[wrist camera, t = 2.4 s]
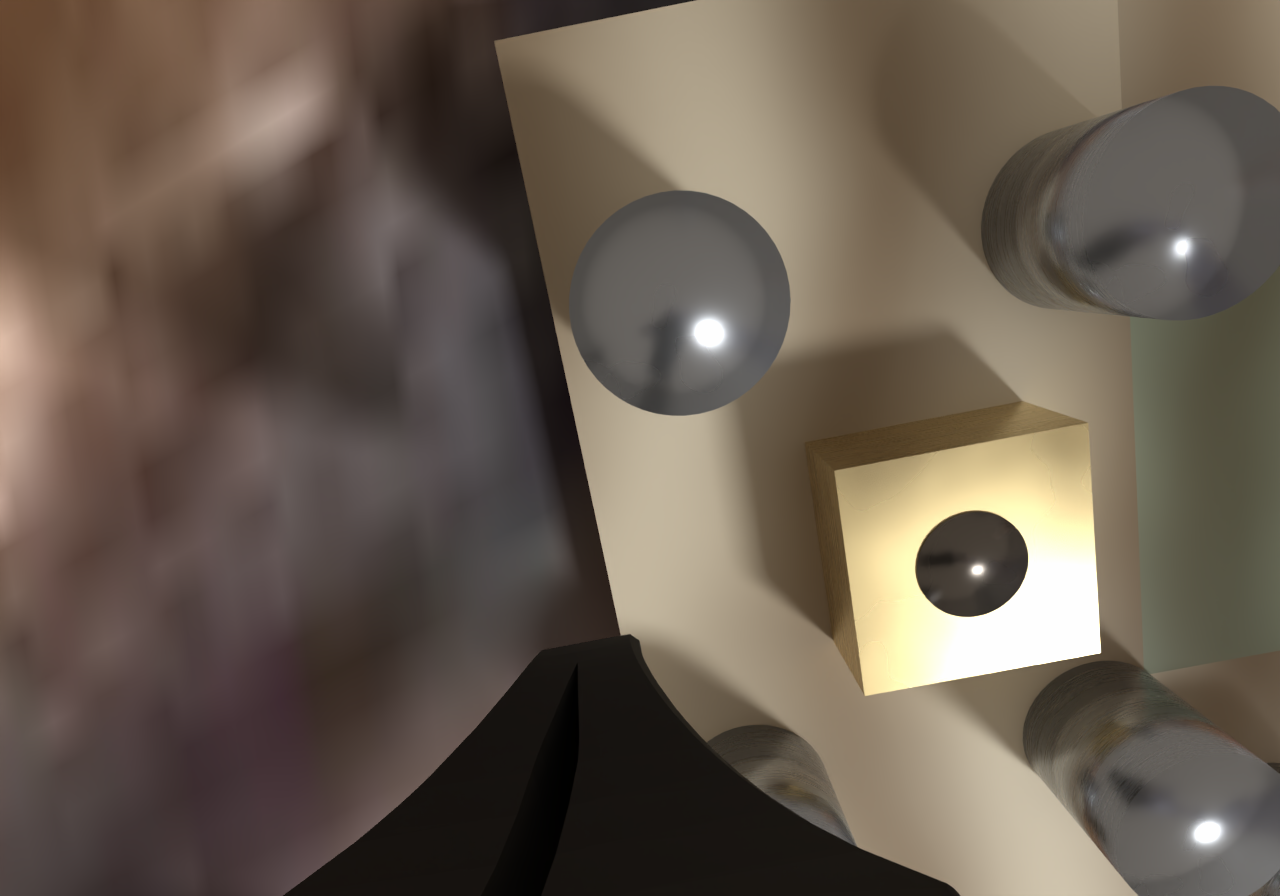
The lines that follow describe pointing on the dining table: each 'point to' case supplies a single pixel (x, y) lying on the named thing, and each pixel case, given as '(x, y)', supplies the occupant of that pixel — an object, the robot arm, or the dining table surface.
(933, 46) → the birch board
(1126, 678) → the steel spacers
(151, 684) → the dining table surface
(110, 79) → the dining table surface
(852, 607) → the brass nut
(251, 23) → the dining table surface
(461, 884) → the robot arm
